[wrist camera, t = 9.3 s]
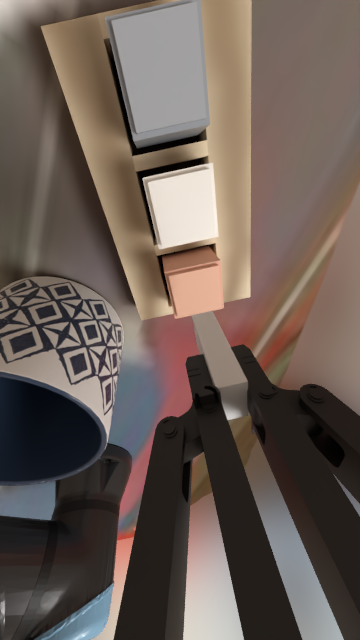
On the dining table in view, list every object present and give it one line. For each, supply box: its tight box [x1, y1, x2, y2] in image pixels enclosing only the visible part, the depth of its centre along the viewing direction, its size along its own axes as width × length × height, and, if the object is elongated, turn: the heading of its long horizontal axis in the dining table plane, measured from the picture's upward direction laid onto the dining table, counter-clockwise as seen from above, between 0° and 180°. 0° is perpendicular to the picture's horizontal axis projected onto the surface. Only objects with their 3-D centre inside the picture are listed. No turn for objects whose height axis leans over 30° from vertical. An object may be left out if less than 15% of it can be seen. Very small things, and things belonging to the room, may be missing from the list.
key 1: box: [162, 246, 224, 319], centre depth 22 cm, size 5×5×5 cm
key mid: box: [142, 163, 219, 249], centre depth 18 cm, size 5×5×5 cm
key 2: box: [105, 0, 210, 149], centre depth 14 cm, size 5×5×5 cm
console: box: [41, 0, 251, 320], centre depth 21 cm, size 13×22×3 cm, turn 11°
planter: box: [0, 276, 124, 486], centre depth 23 cm, size 16×16×14 cm
